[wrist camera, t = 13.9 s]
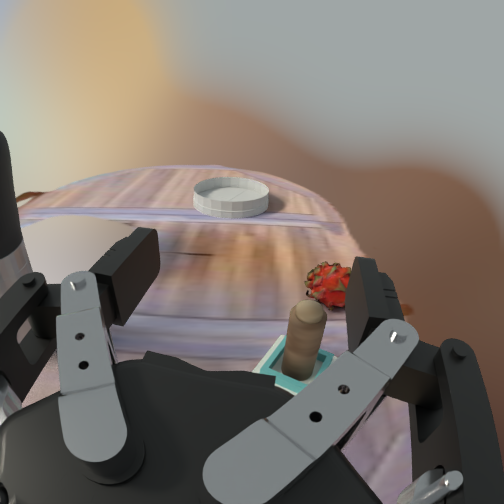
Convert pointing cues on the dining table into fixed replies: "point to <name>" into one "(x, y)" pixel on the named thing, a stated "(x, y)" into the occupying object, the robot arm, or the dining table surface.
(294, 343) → the jar
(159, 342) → the dining table surface
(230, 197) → the dish
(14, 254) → the robot arm
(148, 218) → the dining table surface
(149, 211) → the dining table surface
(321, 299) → the dragon fruit
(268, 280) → the dining table surface
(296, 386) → the frame board
